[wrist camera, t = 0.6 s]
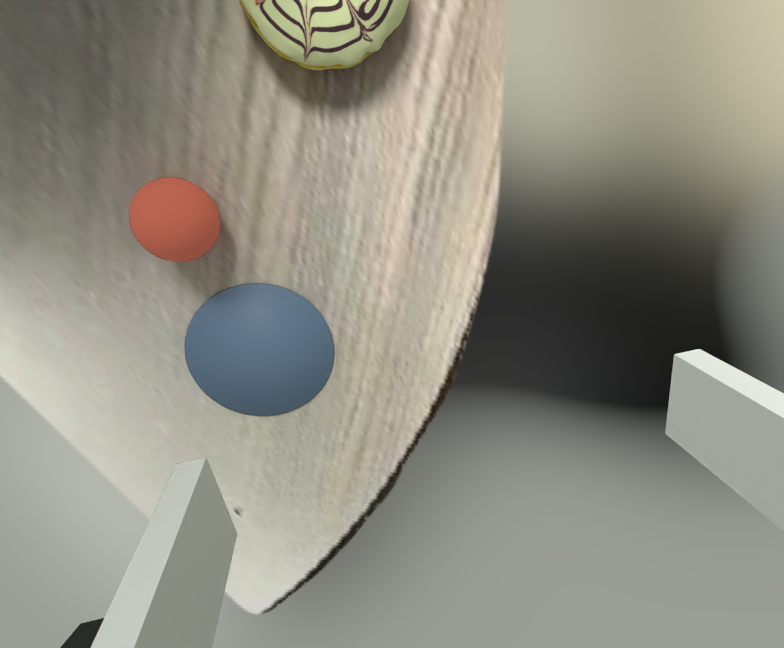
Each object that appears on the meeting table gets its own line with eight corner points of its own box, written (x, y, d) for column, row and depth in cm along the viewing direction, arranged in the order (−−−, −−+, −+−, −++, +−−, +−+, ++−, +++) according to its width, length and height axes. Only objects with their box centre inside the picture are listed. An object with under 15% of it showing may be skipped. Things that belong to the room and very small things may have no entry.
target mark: (152, 341, 35) (151, 342, 35) (270, 253, 34) (270, 254, 33) (254, 438, 39) (253, 439, 39) (361, 363, 38) (361, 364, 38)
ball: (130, 206, 31) (92, 215, 26) (189, 159, 31) (162, 159, 25) (187, 266, 33) (161, 286, 28) (243, 224, 33) (228, 236, 27)
